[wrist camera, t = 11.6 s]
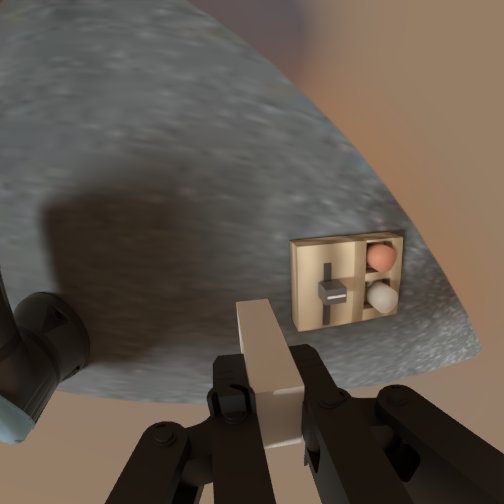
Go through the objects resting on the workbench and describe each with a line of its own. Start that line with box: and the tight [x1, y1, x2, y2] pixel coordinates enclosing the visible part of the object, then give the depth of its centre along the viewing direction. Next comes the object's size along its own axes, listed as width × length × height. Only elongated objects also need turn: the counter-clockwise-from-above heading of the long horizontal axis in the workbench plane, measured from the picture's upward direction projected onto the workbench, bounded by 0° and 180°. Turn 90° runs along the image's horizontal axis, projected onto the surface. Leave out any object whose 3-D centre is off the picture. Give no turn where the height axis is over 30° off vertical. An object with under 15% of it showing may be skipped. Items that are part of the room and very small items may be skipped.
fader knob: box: [318, 280, 347, 306], centre depth 37 cm, size 3×2×3 cm
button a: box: [366, 242, 396, 273], centre depth 39 cm, size 4×4×3 cm
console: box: [290, 232, 403, 332], centre depth 41 cm, size 16×12×4 cm
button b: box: [366, 281, 398, 313], centre depth 39 cm, size 4×4×3 cm
